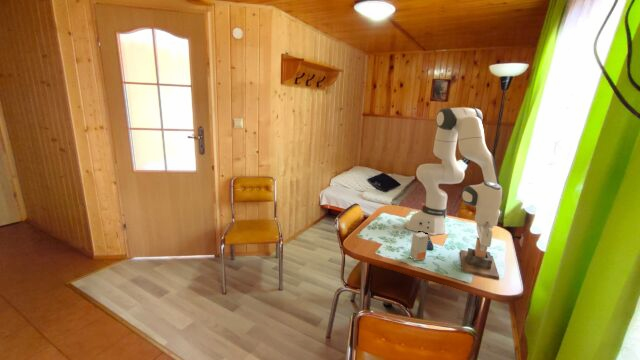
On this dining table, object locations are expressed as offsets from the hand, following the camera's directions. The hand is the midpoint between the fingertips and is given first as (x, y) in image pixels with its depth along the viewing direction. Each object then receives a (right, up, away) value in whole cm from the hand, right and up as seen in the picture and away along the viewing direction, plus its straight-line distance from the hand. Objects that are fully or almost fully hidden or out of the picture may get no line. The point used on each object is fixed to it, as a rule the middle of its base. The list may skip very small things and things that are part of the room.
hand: (481, 247), depth 134 cm
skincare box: (-27, -6, +6) cm, 28 cm away
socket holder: (0, -8, +2) cm, 9 cm away
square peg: (0, -4, +1) cm, 4 cm away
